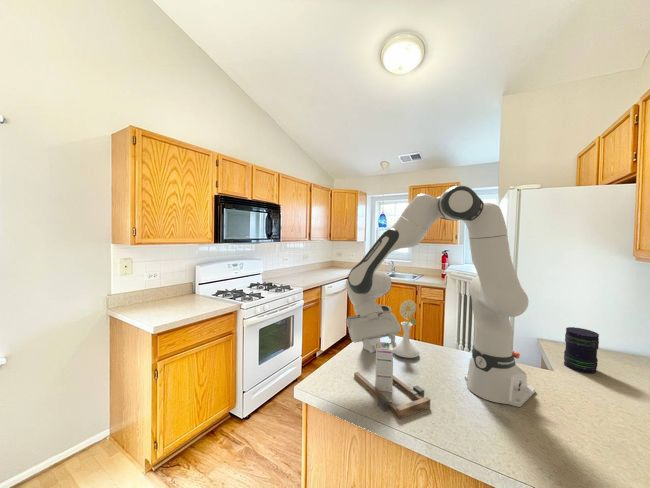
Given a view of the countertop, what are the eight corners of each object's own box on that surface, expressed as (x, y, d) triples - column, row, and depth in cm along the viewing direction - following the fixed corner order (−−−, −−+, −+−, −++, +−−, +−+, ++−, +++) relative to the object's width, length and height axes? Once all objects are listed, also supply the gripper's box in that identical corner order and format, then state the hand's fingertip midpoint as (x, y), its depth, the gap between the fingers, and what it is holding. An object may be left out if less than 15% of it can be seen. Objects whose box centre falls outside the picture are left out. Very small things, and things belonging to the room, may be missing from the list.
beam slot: (385, 368, 106) (385, 362, 106) (434, 405, 84) (435, 398, 84) (349, 377, 99) (349, 371, 99) (393, 420, 77) (393, 412, 77)
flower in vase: (388, 349, 123) (389, 295, 122) (411, 348, 125) (413, 294, 124) (401, 363, 110) (403, 303, 109) (426, 361, 112) (428, 302, 111)
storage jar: (561, 366, 110) (563, 330, 109) (565, 359, 116) (567, 325, 116) (596, 377, 102) (598, 338, 102) (598, 368, 109) (600, 332, 108)
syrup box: (392, 392, 90) (394, 350, 90) (374, 390, 92) (375, 348, 91) (391, 383, 96) (393, 343, 95) (375, 380, 97) (376, 341, 97)
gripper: (347, 312, 95) (362, 351, 87) (393, 306, 104) (410, 340, 96) (341, 321, 100) (354, 358, 91) (385, 314, 108) (401, 348, 100)
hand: (383, 349), depth 94 cm, fingers closed on syrup box, 8 cm apart
